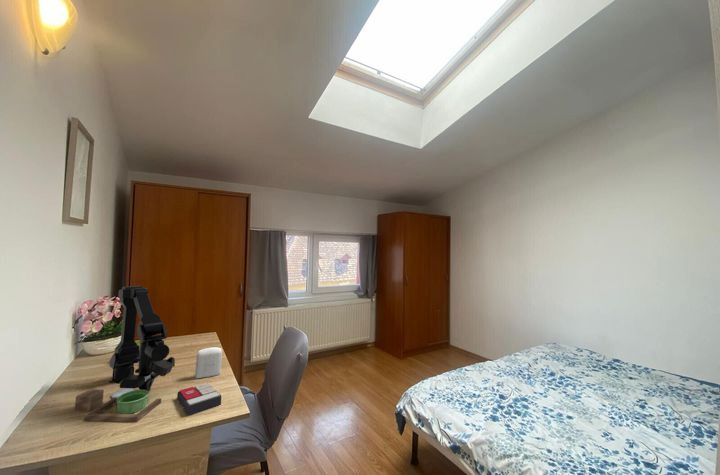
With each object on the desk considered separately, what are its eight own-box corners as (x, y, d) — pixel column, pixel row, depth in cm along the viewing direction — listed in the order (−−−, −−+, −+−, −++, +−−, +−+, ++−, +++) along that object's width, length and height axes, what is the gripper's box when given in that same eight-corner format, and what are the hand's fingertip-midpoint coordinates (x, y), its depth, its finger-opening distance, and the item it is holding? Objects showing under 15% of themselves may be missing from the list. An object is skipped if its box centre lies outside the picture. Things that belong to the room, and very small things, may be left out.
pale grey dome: (106, 399, 103) (106, 397, 103) (121, 389, 110) (121, 388, 110) (125, 399, 104) (125, 397, 104) (139, 390, 110) (139, 388, 111)
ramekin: (140, 414, 95) (141, 401, 95) (109, 417, 93) (110, 403, 93) (152, 400, 104) (154, 388, 104) (124, 402, 102) (126, 390, 102)
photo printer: (219, 371, 130) (221, 344, 131) (221, 375, 127) (223, 347, 127) (194, 376, 125) (196, 348, 125) (195, 380, 121) (197, 351, 122)
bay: (83, 420, 90) (84, 415, 91) (113, 401, 102) (114, 397, 102) (137, 421, 91) (137, 417, 91) (161, 402, 102) (161, 398, 103)
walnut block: (74, 411, 95) (75, 396, 95) (88, 403, 100) (89, 389, 100) (89, 411, 95) (90, 396, 96) (102, 403, 100) (103, 389, 101)
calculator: (208, 381, 114) (221, 393, 103) (208, 392, 113) (221, 405, 103) (177, 389, 106) (188, 404, 96) (176, 401, 106) (187, 417, 95)
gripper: (153, 364, 96) (149, 410, 96) (184, 346, 115) (182, 384, 114) (120, 363, 96) (116, 409, 95) (157, 345, 115) (154, 383, 114)
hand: (145, 395), depth 105 cm, fingers closed
